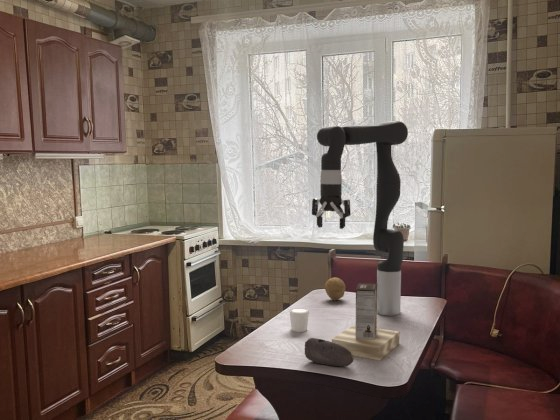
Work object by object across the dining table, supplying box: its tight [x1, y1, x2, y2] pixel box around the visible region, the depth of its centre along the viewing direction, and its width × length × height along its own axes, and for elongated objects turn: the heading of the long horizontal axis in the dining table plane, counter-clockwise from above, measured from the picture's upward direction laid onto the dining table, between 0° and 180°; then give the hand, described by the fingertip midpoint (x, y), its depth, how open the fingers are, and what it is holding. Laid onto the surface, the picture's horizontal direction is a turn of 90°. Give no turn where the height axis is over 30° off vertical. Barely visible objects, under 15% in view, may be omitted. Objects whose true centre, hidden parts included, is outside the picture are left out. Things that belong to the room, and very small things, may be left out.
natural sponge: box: [324, 276, 346, 301], centre depth 240 cm, size 9×9×10 cm
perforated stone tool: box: [304, 337, 354, 367], centre depth 164 cm, size 15×5×7 cm, turn 59°
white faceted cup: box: [289, 307, 310, 333], centre depth 198 cm, size 7×7×7 cm
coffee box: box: [355, 282, 378, 340], centre depth 178 cm, size 9×6×16 cm
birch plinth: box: [331, 324, 400, 361], centre depth 179 cm, size 18×16×4 cm
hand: (330, 227), depth 199 cm, fingers open, 8 cm apart
